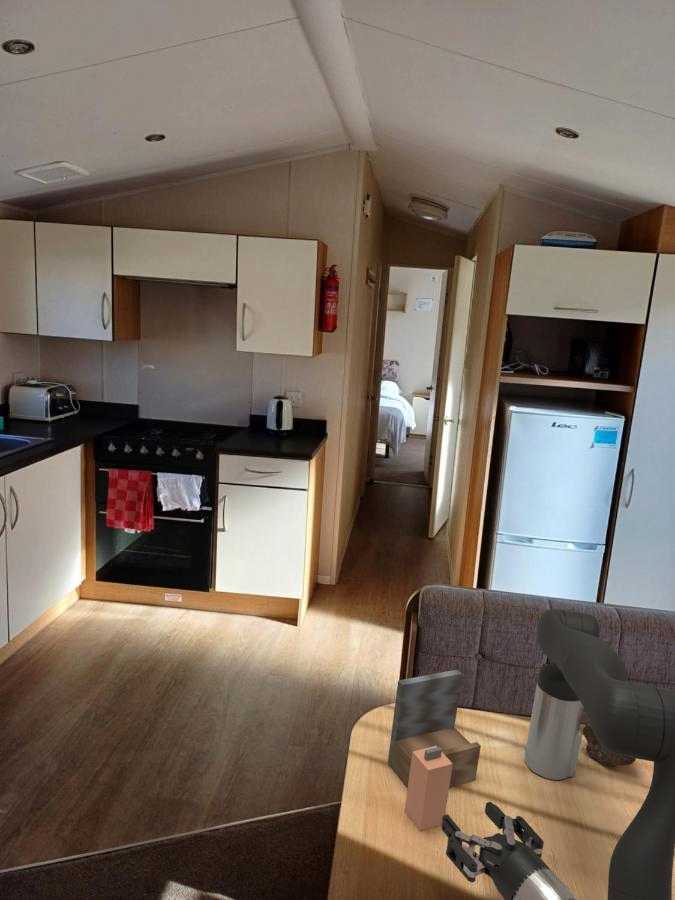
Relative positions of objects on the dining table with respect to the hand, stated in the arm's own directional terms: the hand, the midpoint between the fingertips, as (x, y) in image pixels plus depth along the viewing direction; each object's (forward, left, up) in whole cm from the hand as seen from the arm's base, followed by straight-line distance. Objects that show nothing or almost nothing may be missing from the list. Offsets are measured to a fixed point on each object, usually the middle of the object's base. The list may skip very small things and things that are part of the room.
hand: (465, 812), depth 104 cm
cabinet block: (+5, -9, -9) cm, 14 cm away
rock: (-34, -33, -10) cm, 49 cm away
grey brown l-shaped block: (+3, -21, -9) cm, 23 cm away
